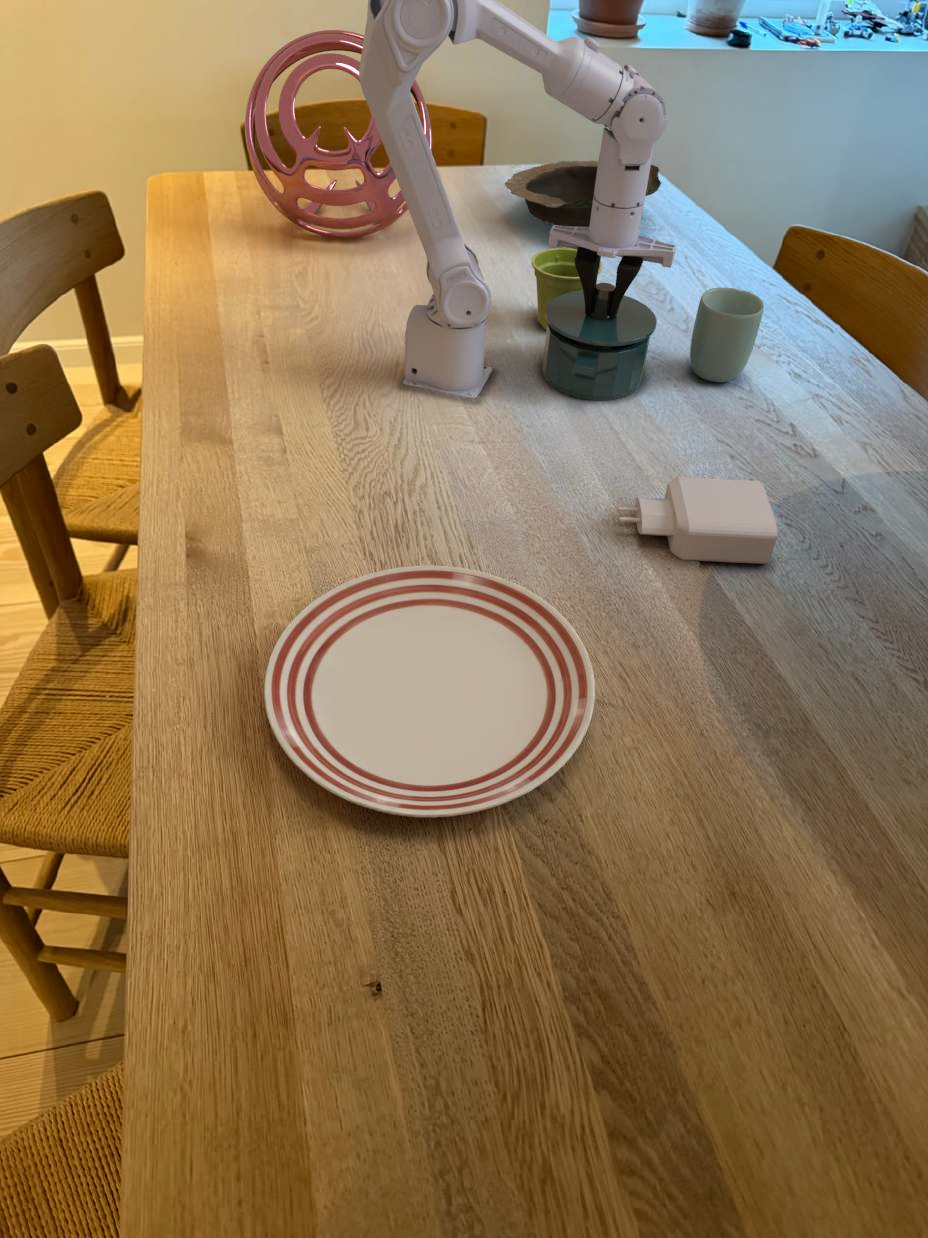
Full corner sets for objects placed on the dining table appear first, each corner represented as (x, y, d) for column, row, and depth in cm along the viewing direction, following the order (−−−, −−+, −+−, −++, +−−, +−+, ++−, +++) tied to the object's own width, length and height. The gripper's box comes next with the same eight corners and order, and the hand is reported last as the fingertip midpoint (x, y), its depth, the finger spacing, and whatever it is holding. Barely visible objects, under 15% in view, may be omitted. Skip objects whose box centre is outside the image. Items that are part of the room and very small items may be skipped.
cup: (744, 393, 121) (765, 319, 114) (682, 384, 122) (699, 310, 115) (744, 363, 126) (764, 291, 119) (684, 355, 127) (701, 283, 120)
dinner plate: (484, 899, 68) (487, 874, 66) (197, 731, 78) (190, 704, 76) (642, 667, 85) (649, 641, 83) (391, 553, 95) (391, 527, 93)
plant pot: (516, 330, 130) (521, 268, 124) (538, 302, 136) (544, 242, 130) (581, 345, 128) (590, 283, 122) (601, 316, 134) (610, 255, 128)
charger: (610, 505, 103) (749, 512, 103) (618, 561, 96) (767, 568, 96) (617, 468, 99) (760, 476, 99) (626, 524, 93) (780, 532, 93)
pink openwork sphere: (288, 47, 154) (261, -37, 127) (452, 108, 157) (460, 38, 130) (240, 220, 158) (204, 174, 132) (401, 277, 161) (398, 243, 135)
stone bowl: (666, 258, 149) (674, 197, 142) (506, 262, 149) (506, 201, 143) (647, 195, 166) (653, 139, 160) (503, 199, 167) (503, 143, 160)
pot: (526, 399, 117) (531, 351, 113) (559, 334, 130) (565, 288, 125) (627, 419, 115) (637, 371, 110) (651, 351, 128) (660, 305, 123)
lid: (532, 338, 114) (536, 300, 111) (558, 290, 124) (562, 255, 120) (645, 359, 112) (652, 321, 108) (662, 309, 121) (670, 273, 118)
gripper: (547, 201, 106) (535, 316, 115) (678, 222, 103) (655, 338, 112) (562, 179, 111) (549, 291, 120) (686, 199, 108) (663, 312, 117)
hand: (601, 312), depth 117 cm, fingers closed on lid, 2 cm apart
